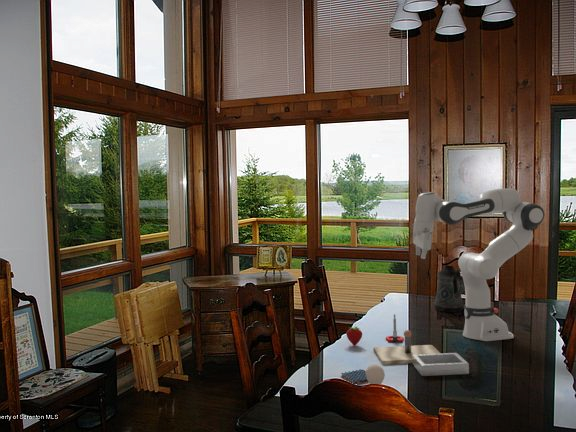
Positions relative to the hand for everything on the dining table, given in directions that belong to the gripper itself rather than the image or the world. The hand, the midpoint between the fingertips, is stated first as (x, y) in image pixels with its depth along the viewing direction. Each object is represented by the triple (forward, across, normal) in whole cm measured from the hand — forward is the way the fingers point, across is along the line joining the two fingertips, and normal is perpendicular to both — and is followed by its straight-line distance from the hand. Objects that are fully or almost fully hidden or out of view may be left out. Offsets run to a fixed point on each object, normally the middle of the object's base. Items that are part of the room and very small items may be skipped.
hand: (420, 256), depth 238 cm
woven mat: (+42, -47, +31) cm, 70 cm away
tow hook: (+41, +1, +8) cm, 41 cm away
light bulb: (+40, -64, +27) cm, 81 cm away
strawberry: (+43, -6, +27) cm, 51 cm away
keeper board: (+39, -23, +7) cm, 46 cm away
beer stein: (+38, +57, -36) cm, 77 cm away
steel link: (+38, -40, -2) cm, 55 cm away
